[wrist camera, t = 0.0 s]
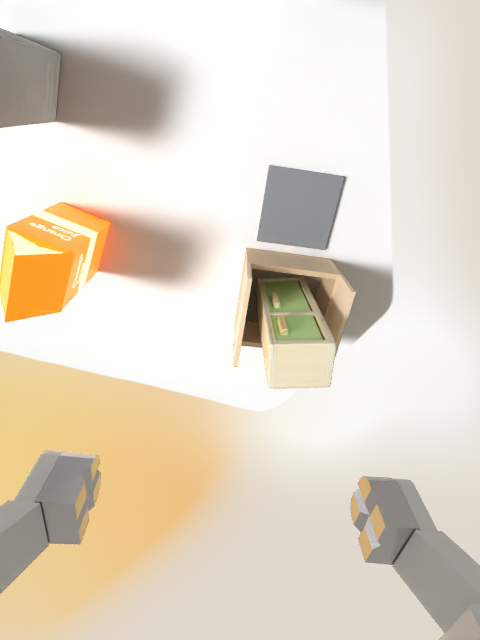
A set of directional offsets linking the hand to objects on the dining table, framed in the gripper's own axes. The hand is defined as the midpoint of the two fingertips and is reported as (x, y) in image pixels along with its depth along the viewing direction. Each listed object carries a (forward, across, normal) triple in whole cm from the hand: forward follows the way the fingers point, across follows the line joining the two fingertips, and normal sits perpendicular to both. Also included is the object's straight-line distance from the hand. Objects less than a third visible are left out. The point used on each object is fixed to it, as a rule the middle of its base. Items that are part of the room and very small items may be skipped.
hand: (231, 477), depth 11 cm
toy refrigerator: (+48, -10, +14) cm, 51 cm away
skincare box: (+48, +27, -11) cm, 56 cm away
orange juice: (+48, +23, +9) cm, 54 cm away
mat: (+48, -10, 0) cm, 49 cm away
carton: (+48, -10, +14) cm, 51 cm away
